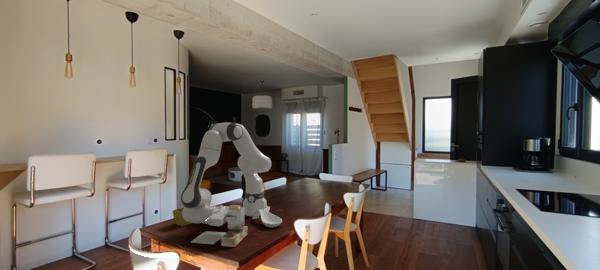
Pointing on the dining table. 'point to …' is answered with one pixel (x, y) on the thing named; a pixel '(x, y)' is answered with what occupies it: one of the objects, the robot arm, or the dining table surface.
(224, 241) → the block plane
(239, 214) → the grey tall block
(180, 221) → the flower pot
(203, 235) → the mat
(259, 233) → the dining table surface
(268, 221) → the spoon rest
